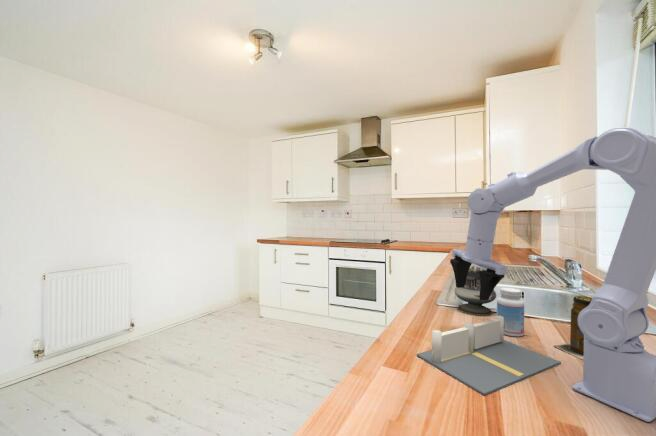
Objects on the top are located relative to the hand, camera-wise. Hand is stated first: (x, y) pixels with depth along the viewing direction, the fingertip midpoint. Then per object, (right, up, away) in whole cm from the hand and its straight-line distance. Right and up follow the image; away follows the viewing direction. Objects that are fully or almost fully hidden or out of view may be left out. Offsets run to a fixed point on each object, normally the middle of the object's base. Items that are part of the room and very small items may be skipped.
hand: (471, 292), depth 72 cm
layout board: (-2, -11, -11) cm, 16 cm away
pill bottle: (+12, -12, +4) cm, 17 cm away
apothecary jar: (+12, -11, +22) cm, 27 cm away
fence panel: (+1, -10, -5) cm, 12 cm away
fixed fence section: (-9, -11, -10) cm, 17 cm away
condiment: (+22, -12, -7) cm, 26 cm away
